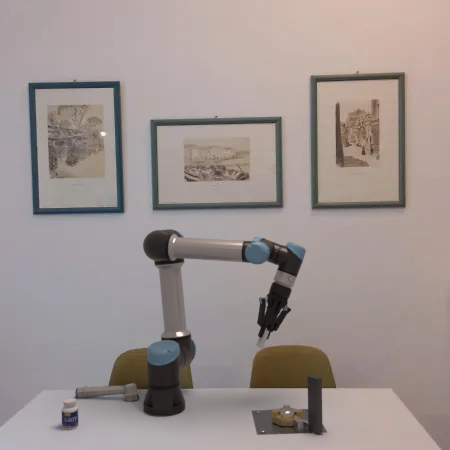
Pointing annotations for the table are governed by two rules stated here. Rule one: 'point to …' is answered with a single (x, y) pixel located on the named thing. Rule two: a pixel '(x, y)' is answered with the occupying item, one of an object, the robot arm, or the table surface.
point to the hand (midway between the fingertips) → (259, 346)
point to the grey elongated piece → (109, 391)
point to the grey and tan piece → (313, 408)
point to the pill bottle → (69, 414)
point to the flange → (268, 427)
